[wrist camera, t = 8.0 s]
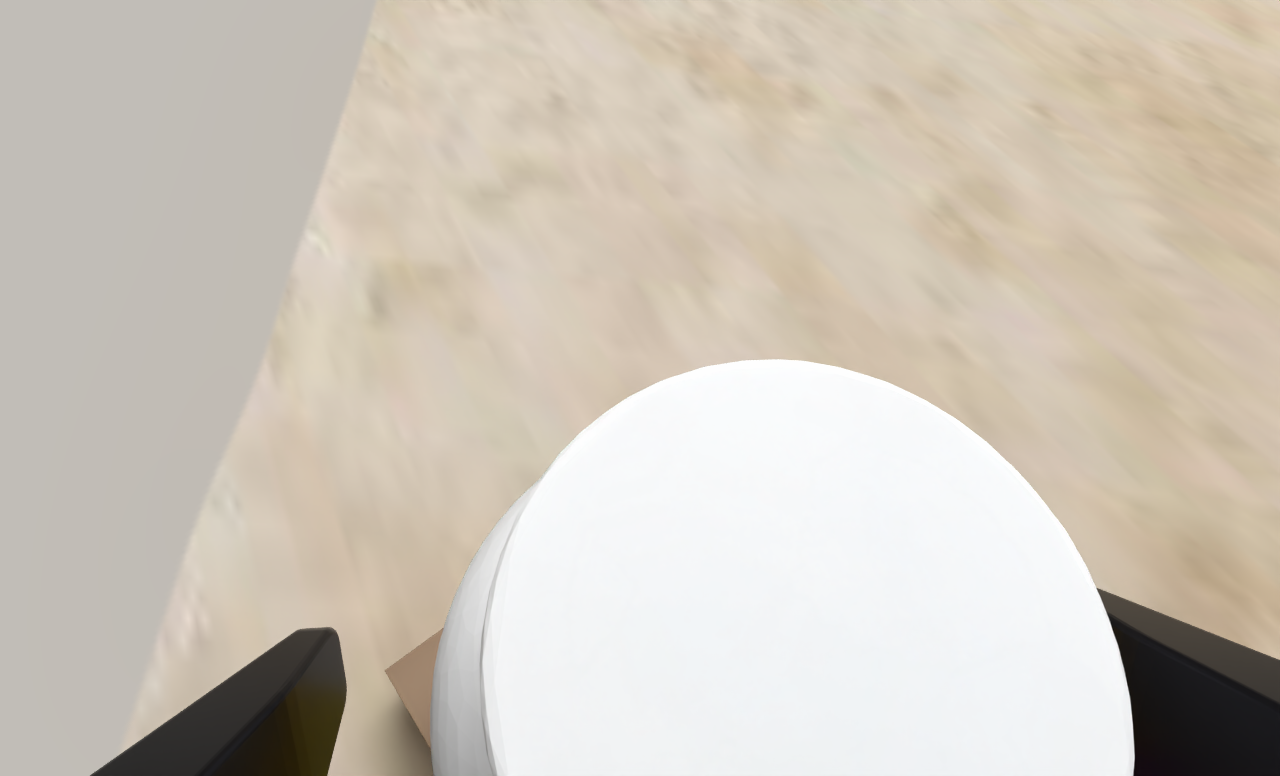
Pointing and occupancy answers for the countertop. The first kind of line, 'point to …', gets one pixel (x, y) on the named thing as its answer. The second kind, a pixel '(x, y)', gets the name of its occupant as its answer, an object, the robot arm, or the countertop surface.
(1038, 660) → the supplement bottle
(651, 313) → the countertop surface
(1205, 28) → the countertop surface
